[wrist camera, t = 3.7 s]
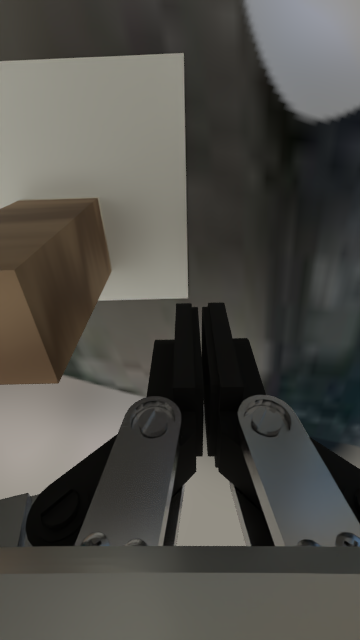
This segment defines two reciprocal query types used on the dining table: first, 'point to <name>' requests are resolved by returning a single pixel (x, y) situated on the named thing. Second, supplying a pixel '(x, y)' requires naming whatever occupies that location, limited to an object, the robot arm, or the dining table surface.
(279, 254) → the dining table surface
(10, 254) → the walnut block
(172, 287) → the white rectangular board
